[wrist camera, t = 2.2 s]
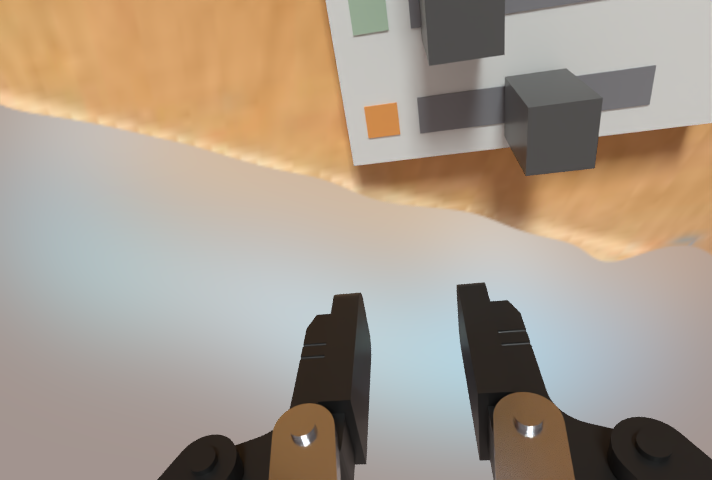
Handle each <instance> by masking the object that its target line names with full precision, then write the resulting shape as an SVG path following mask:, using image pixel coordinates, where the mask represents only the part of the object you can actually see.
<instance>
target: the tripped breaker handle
mask: <svg viewBox="0 0 712 480" xmlns="http://www.w3.org/2000/svg"><path fill="white" fill-rule="evenodd" d="M602 102H603V98H602V97H601V96H600V95H599V94H598V93H596V92H595V91H594V90H593V89H591V88H590V87H589V86H588V85H586V84H585V83H584V82H583V81H581V80H580V79H579V78H578V77H576V76H575V75H574V74H573V73H571V72H570V71H569V70H568V69H566V68H565V69H557V70H550V71H543V72H536V73H529V74H522V75H514V76H507V77H505V111H504V137H505V139H506V140H507V142H508V144H509V146H510V148H511V150H512V151H513V153H514V155H515V157H516V159H517V161H518V162H519V164H520V166H521V168H522V170H523V172H524V174H525V175H526V176H530V175H539V174H548V173H556V172H565V171H574V170H583V169H592V168H595V161H596V153H597V144H598V136H599V127H600V119H601V111H602Z"/></svg>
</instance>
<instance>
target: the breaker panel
mask: <svg viewBox="0 0 712 480" xmlns="http://www.w3.org/2000/svg"><path fill="white" fill-rule="evenodd" d="M326 6H327V12H328V17H329V23H330V29H331V35H332V41H333V46H334V52H335V58H336V64H337V70H338V76H339V81H340V87H341V93H342V99H343V105H344V110H345V116H346V122H347V128H348V134H349V139H350V145H351V151H352V157H353V163H354V166H357V165H366V164H374V163H382V162H391V161H399V160H407V159H416V158H424V157H432V156H441V155H449V154H457V153H466V152H474V151H482V150H491V149H499V148H507V147H510V146H509V144H508V142H507V140H506V139H505V137H504V111H505V77H507V76H514V75H522V74H529V73H536V72H543V71H550V70H557V69H565V68H566V69H568V70H569V71H570V72H571V73H573V74H574V75H575V76H576V77H578V78H579V79H580V80H581V81H583V82H584V83H585V84H586V85H588V86H589V87H590V88H591V89H593V90H594V91H595V92H596V93H598V94H599V95H600V96H601V97H602V98H603V102H602V111H601V119H600V127H599V136H607V135H615V134H624V133H632V132H640V131H649V130H657V129H665V128H674V127H682V126H690V125H699V124H707V123H712V0H326ZM599 136H598V137H599Z"/></svg>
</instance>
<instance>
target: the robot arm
mask: <svg viewBox="0 0 712 480" xmlns="http://www.w3.org/2000/svg"><path fill="white" fill-rule="evenodd" d="M457 302H458V303H457V304H458V322H459V334H460V344H461V350H462V357H463V363H464V369H465V375H466V381H467V387H468V393H469V399H470V405H471V410H472V417H473V421H474V422H473V423H474V428H475V435H476V441H477V446H478V453H479V459H480V460H490V462H491V467H492V473H493V478H494V480H712V459H711V458H709V457H708V456H707V455H706V454H705V453H704V452H702V451H701V450H700V449H699V448H697V447H696V446H695V445H694V444H693V443H692V442H690V441H689V440H688V439H687V438H686V437H685V436H683V435H682V434H681V433H680V432H678V431H677V430H676V429H674V428H673V427H671V426H669V425H668V424H665V423H663V422H661V421H658V420H655V419H651V418H646V417H632V418H627V419H625V420H622V421H621V422H619V423H618V424H617V425H616V426H615V427H614V429H611V428H607V427H603V426H598V425H594V424H590V423H586V422H582V421H579V420H577V419H574V418H572V417H570V416H568V415H567V414H565V413H564V412H562V411H561V410H560V409H559V408H558V407H557V406H556V405H555V404H554V403H553V402H552V401H551V399H550V398H549V396H548V393H547V391H546V388H545V385H544V382H543V379H542V376H541V373H540V370H539V367H538V364H537V361H536V358H535V355H534V352H533V349H532V346H531V345H530V340H529V337H528V334H527V332H526V328H525V325H524V322H523V320H522V317H521V313H520V312H519V311H518V310H517V309H516V308H515V307H514V306H513V305H512V304H511V303H510V302H509V301H507V300H505V301H492V302H490V299H489V296H488V292H487V288H486V285H485V283H473V284H461V285H457ZM370 369H371V342H370V334H369V329H368V323H367V318H366V313H365V307H364V303H363V297H362V294H361V293H351V294H339V295H334V298H333V305H332V310H331V314H323V315H317V316H316V317H315V318H314V320H313V321H312V322H311V324H310V325H309V326H308V328H307V330H306V335H305V339H304V347H303V349H302V354H301V360H300V363H299V368H298V373H297V378H296V382H295V387H294V392H293V397H292V402H291V406H290V409H289V410H288V411H286V412H285V413H284V414H283V415H282V416H281V417H280V418H279V419H278V421H277V422H276V424H275V427H274V429H273V430H272V431H271V432H269V433H267V434H265V435H263V436H261V437H258V438H255V439H253V440H249V441H247V442H244V443H241V444H238V445H234V443H233V442H232V441H231V440H230V439H229V438H227V437H225V436H222V435H209V436H205V437H202V438H200V439H198V440H196V441H194V442H193V443H191V444H190V445H188V446H187V447H186V448H185V449H184V450H183V451H182V452H181V453H180V455H179V456H178V457H177V458H176V459H175V460H174V461H173V462H172V464H171V465H170V466H169V467H168V468H167V469H166V470H165V472H164V473H163V474H162V475H161V476H160V477H159V478H158V480H354V468H355V464H366V456H367V435H368V411H369V390H370Z"/></svg>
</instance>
